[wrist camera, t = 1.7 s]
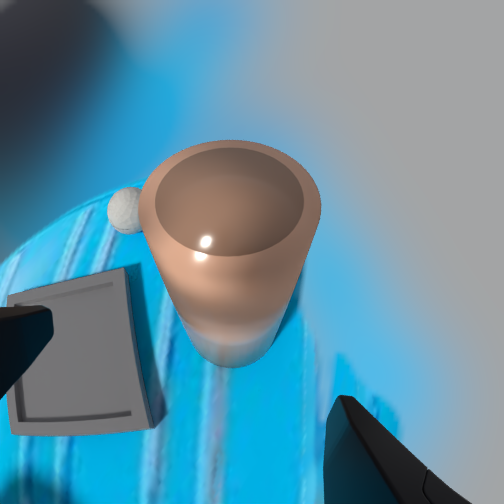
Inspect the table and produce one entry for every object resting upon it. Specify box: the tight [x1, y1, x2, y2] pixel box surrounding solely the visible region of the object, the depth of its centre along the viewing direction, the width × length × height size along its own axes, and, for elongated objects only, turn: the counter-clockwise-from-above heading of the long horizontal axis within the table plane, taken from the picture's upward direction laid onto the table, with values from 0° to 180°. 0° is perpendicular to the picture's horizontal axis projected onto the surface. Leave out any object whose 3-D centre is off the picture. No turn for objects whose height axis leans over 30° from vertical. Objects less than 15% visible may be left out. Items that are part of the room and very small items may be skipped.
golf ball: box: [107, 187, 142, 234], centre depth 23 cm, size 4×4×4 cm
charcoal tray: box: [6, 268, 154, 436], centre depth 18 cm, size 12×12×1 cm
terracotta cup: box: [138, 140, 321, 368], centre depth 15 cm, size 6×6×13 cm
